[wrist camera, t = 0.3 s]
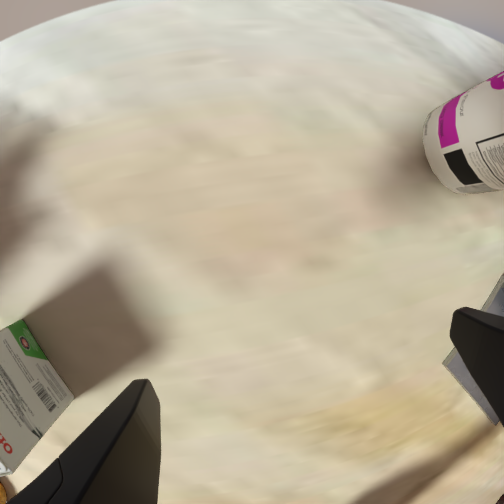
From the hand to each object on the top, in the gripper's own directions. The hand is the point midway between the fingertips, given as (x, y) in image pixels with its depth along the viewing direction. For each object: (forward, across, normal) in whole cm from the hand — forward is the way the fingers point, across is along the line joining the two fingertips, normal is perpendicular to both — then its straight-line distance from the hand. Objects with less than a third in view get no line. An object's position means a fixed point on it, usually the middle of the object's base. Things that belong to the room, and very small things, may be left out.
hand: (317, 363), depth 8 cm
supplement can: (+17, -19, -4) cm, 26 cm away
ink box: (+14, +22, +9) cm, 27 cm away
